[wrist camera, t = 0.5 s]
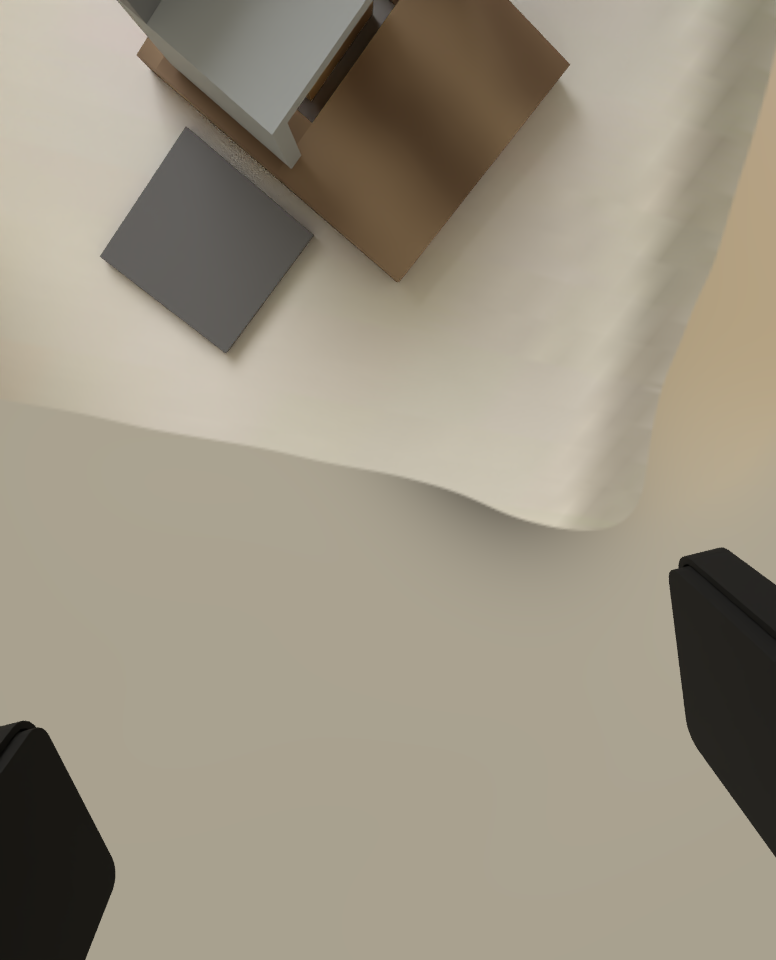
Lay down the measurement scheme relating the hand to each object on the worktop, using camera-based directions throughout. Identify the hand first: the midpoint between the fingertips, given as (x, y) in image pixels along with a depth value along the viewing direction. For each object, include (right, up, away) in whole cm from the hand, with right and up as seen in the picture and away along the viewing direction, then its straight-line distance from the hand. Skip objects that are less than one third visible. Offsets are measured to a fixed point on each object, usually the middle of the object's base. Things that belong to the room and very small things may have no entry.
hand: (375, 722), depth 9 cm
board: (-1, +24, +23) cm, 33 cm away
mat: (-9, +16, +25) cm, 31 cm away
